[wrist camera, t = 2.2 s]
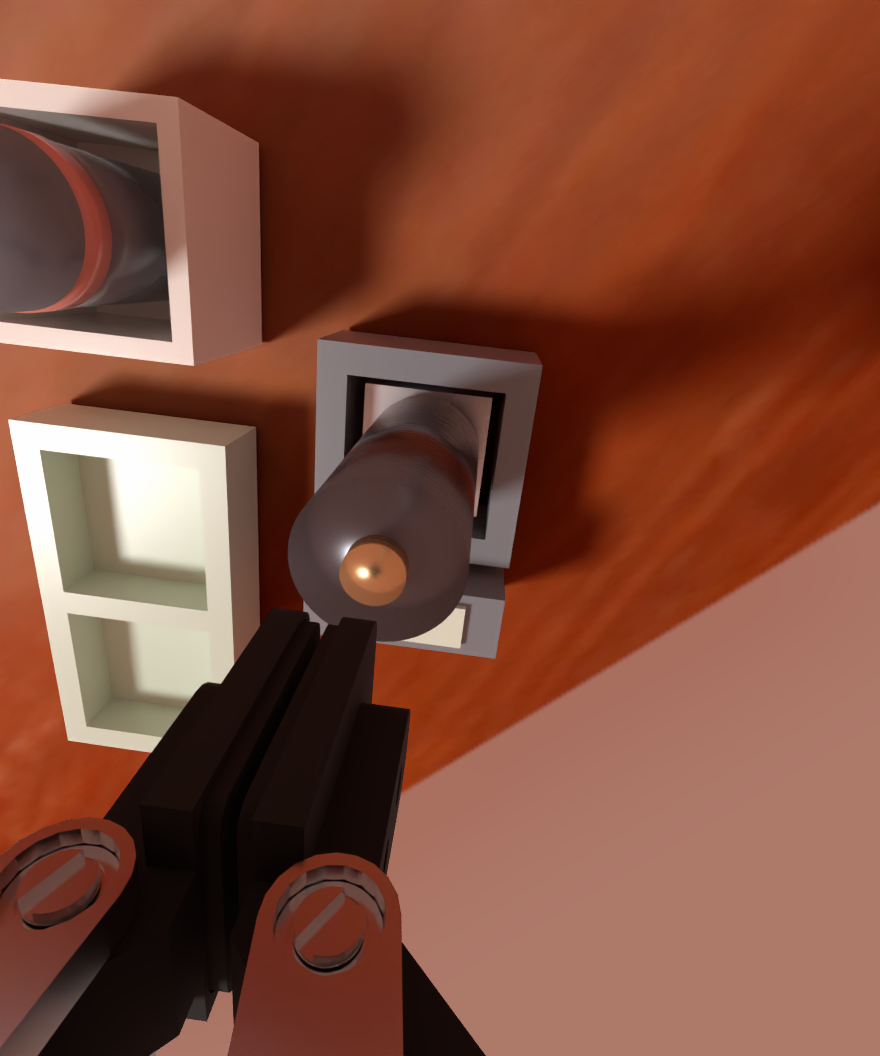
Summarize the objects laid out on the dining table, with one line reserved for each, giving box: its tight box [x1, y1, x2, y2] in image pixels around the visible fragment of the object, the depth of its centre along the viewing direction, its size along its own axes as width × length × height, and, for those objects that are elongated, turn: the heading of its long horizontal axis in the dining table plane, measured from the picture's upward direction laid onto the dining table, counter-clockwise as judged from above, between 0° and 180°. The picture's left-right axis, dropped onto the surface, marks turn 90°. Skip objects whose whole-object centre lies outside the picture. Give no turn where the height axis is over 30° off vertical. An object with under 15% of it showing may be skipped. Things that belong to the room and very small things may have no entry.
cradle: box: [303, 330, 543, 659], centre depth 22 cm, size 10×7×5 cm
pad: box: [363, 378, 493, 517], centre depth 22 cm, size 4×4×2 cm
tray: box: [8, 403, 260, 752], centre depth 26 cm, size 15×8×3 cm, turn 174°
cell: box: [288, 396, 479, 642], centre depth 17 cm, size 4×4×10 cm
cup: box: [0, 79, 262, 366], centre depth 17 cm, size 7×7×10 cm
